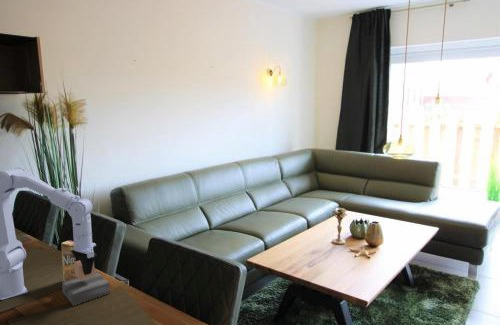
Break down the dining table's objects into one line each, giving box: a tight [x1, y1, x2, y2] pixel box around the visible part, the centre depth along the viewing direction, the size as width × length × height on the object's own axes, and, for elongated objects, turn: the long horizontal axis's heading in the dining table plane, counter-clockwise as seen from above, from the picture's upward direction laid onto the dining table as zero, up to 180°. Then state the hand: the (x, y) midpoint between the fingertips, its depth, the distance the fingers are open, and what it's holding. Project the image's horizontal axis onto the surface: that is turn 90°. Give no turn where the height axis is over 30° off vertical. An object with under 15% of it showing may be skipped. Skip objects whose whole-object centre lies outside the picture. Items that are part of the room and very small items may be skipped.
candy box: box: [60, 239, 77, 282], centre depth 133 cm, size 9×4×15 cm, turn 66°
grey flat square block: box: [61, 271, 111, 307], centre depth 126 cm, size 12×12×4 cm
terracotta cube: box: [74, 260, 96, 280], centre depth 125 cm, size 5×5×5 cm
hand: (85, 271), depth 125 cm, fingers closed on terracotta cube, 5 cm apart
